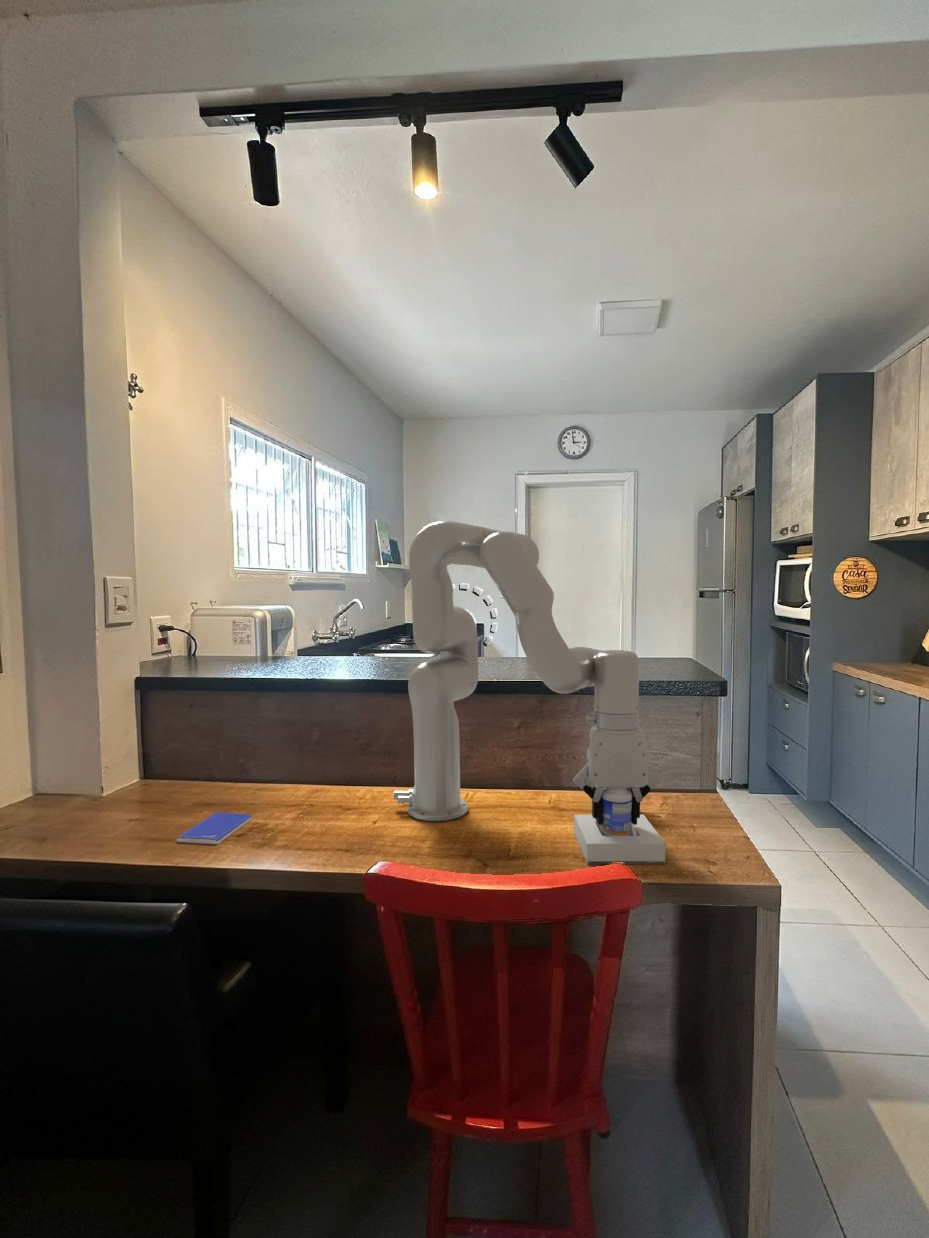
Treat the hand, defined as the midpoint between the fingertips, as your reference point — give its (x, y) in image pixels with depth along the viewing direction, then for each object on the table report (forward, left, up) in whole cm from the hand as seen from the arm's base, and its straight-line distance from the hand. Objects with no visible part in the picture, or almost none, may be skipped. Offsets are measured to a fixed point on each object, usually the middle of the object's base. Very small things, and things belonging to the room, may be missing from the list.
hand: (615, 820), depth 107 cm
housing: (0, 0, -5) cm, 5 cm away
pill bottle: (0, 0, -2) cm, 2 cm away
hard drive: (-75, +9, -6) cm, 76 cm away
